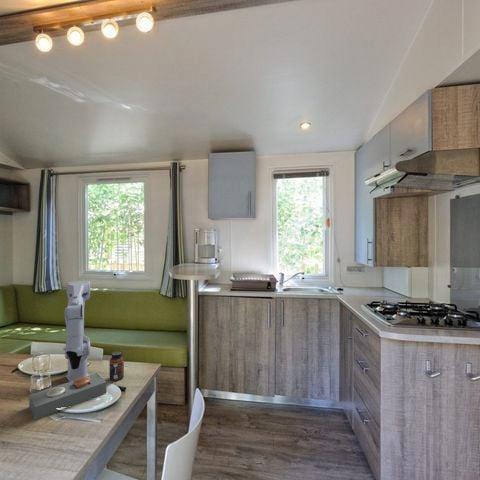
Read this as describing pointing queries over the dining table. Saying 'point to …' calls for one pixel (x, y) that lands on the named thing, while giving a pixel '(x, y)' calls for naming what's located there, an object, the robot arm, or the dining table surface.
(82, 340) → the robot arm
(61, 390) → the plunger
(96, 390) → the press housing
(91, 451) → the dining table surface
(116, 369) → the supplement bottle
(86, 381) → the terracotta plunger
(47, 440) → the dining table surface
